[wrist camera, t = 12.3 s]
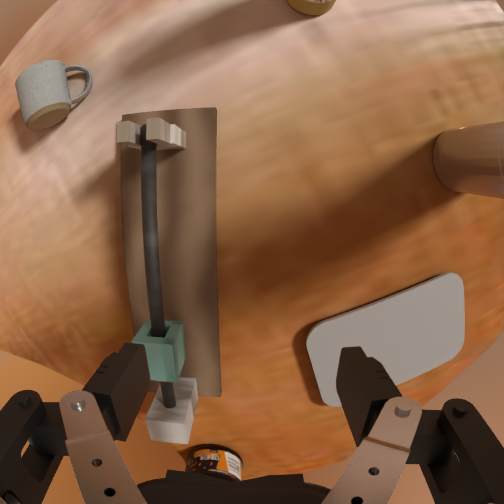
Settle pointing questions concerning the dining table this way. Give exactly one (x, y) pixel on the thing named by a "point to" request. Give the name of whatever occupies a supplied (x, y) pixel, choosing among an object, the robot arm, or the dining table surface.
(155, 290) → the stand
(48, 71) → the ceramic mug
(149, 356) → the sleeve
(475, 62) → the dining table surface
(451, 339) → the tablet
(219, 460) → the supplement container
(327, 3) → the paper tube
